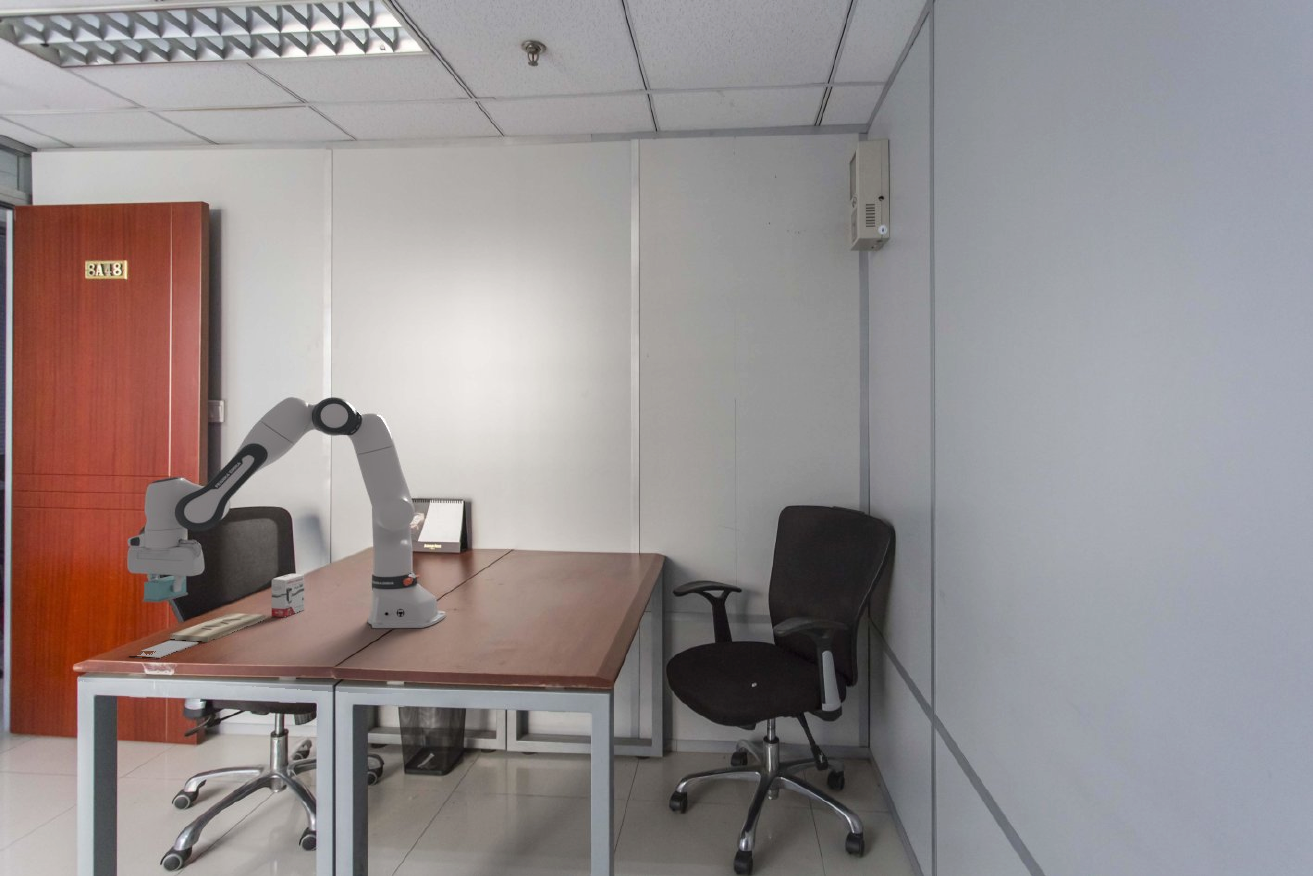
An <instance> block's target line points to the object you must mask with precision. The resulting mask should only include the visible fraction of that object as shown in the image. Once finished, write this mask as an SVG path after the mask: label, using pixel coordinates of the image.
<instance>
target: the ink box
mask: <svg viewBox="0 0 1313 876" xmlns="http://www.w3.org/2000/svg"><path fill="white" fill-rule="evenodd" d="M305 576H306V575H305V574H300V573H289V574H285V575H282V576H278V577H274V578H272V579H271V617H272V616H276V617H275V618H286V617H285V616H287V617H289V616H288V615H290V614H292V615H295V614H298V613H300V612H299V611H301V612H303V611H305V578H306V577H305ZM302 610H303V611H302ZM297 612H298V613H297ZM294 613H295V614H294ZM290 616H291V615H290Z"/></svg>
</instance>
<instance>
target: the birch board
mask: <svg viewBox="0 0 1313 876" xmlns="http://www.w3.org/2000/svg"><path fill="white" fill-rule="evenodd" d="M265 619H266V614H257V613H255V614H254V613H236V612H230V613H227V614H224V615H222V616H221V615H220V616H219V617H215V618H213V619H209V620H206V621H204V622H201V623H198V624H196V625H192V626H190V627H186V628H183V629H181V630H178V631H176V632H173V633H170V634H169V640H170V639H175V640H174V641H182V640H186V642H197V641H202V642H201V643H209V641H210V642H212V641H214V640H213V639H215V640H217V639H219V638H222V636H223V637H225V636H227V634H228V635H230V634H233V633H235V632H237V630H238V631H240V629H241V630H243V629H245V628H244V627H246V626H248V627H250V626H253V625H256V624H258V622H259V623H261V622H264V621H266V620H265ZM263 620H264V621H263ZM260 621H261V622H260ZM242 628H243V629H242ZM246 628H247V627H246ZM234 631H235V632H234ZM232 632H233V633H232ZM211 640H212V641H211Z"/></svg>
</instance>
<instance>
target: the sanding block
mask: <svg viewBox="0 0 1313 876" xmlns="http://www.w3.org/2000/svg"><path fill="white" fill-rule="evenodd" d="M174 582H175V579H174V575H167V576H165V577H162V578H161V577H160V578H158V579H156V580H152V581H149V580H147V581H144V585H143V586H144V587H143V588H144V590H143V591H144V593H143V594H144V597H143V598H142V602H143V603H155V604H156V603H158V604H159V603H163V602H166V601H170V600H173V599H177V598H181V597H185V596H187V595H189V592H187V576H185V579H184V581H183V583H182V584H181V591H178V592H171V591H170V589H171V588H170V585H173V584H174Z"/></svg>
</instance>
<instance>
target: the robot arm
mask: <svg viewBox="0 0 1313 876" xmlns="http://www.w3.org/2000/svg"><path fill="white" fill-rule="evenodd" d="M314 430H315V431H319V432H321V433H323V434H324V435H327V436H332V437H333V436H334V437H335V436H347V437H348V438H349V439H350V441H351V442H352V445H353V448H354V451H355V455H356V459H357V463H358V465H359V470H360V473H361V475H362V480H363V483H364V486H365V489H366V492H367V496H368V498H369V501H370V502H369V503H370V504H371V520H372V521H371V522H372V525H371V526H372V529H371V530H372V545H373V546H372V550H373V552H372V553H373V555H372V557H373V558H372V559H373V574H372V575H371V588H372V597H371V604H370V605H371V606H370V610H369V615H368V618H367V623H368V624H370V625H371V627H372V629H412V628H413V629H420V628H421V629H424V628H427V627H431V626H432V625H435V624H437V623H439V622H441V621H443V619H445V618H446V611H443V610H439V607H438V606H439V605H438V601H437V598H436V596H435V595H434V594H432V593H430V591H428V590H427V589H425V588H424V587H423V586H421V585H420V584H419V581H418V579H420V578H421V573H419V574H417V575H416V573H415V572H414V570H413V541H412V529H411V526H412V525H411V523H412V522H413V520H414V518H415V514H416V513H415V511H416V509H415V505H414V502H413V499H412V496H411V493H410V490H409V488H408V487H409V486H408V484H407V481H406V478H405V476H404V473H403V470H402V467H401V466H402V465H401V462H400V460H399V456H398V455H399V454H398V452H397V448H396V445H395V442H394V438H393V435H392V433H391V430H390V428H389V426H388V425H387V422H386V420H385V419H384V418H383V416H382V415H380V414H378V413H377V414H376V413H363V414H361V412H359V411H358V410H357V409H356V408H355V407H354V406H353V405H352V404H351V403H350V402H349V401H347V400H346V399H343V398H341V397H326V398H324V399H322V400H321V401H320V402H318V403H316V404H310V403H308V402H307V401H305V400H303V399H302V398H298V397H292V396H291V397H286V398H284V399H283V400H282V401H279V402H278V403H277V404H276V405H274V406H273V407H272V408H271V409H269V410H268V411H267V412H266V413H265V414H264V415H263V416H262V417H261V418H260V419H259V420H258V421H257V422H256V423H255V424H254V426H252V428H251V429H250V431H248V433H247V435H246V436H245V437H244V439H243V441H242V443H241V444H240V445H239V447H238V449H237V451H236V452H235V454H234V455H233V456H232V457H231V459H230V460H229V461H228V462H227V463H226V465H225V466H223V468H222V469H221V470H220V471H219V472H217V474H216V475H215V476H213V478H212V479H211V480H209V482H208V483H207V484H206V485H204V486H202V485H200V484H197V483H194V482H191V481H189V480H187V479H186V478H184V477H182V476H175V477H174V476H173V477H167V478H162V479H157V480H154V481H152V482H150V484H148V486H147V488H146V493H145V500H144V515H145V518H146V523H145V526H144V533H141V534H138V535H135V536H132V537H129V538H128V539H127V546H128V547H129V548H128V549H127V550H128V551H127V557H126V558H127V559H126V560H127V562H126V563H127V570H128V571H129V572H130V573H131V574H141V575H143V574H145V575H146V578H147V581H152V580H156V579H159V577H160V575H161V576H174V579H175V582H174V584H173V585H170V588H171V589H170V591H171V592H178V591H181V584H182V583H183V581H184V579H185V576H186V577H194V576H197V575H198V576H199V575H201V574H203V572H204V571H205V559H204V553H203V550H202V545H201V544H200V543H199V542H198V540H196V539H188V531H193V532H204V531H208V530H210V529H212V528H214V527H215V526H217V525H218V524H219V523H220V521H222V519H224V518H225V517H226V516H227V514H228V513H229V511H230V508H231V501H230V500H231V498H232V497H233V496H234V495H235V494H236V493H237V492H239V490H240V489H241V488H242V486H243V485H245V483H247V481H248V480H249V479H251V477H252V476H254V475H255V474H256V473H258V472H259V471H260V470H262V469H264V468H266V467H268V466H269V465H271V464H273V463H275V462H276V461H278V460H279V459H281V458H282V457H283V456H285V455H286V454H287V453H288V452H289V451H290V450H291V449H293V447H294V446H295V445H296V444H298V442H299V441H300V439H302V437H304V436H305V435H306V434H307V433H309V432H311V431H314Z"/></svg>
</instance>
